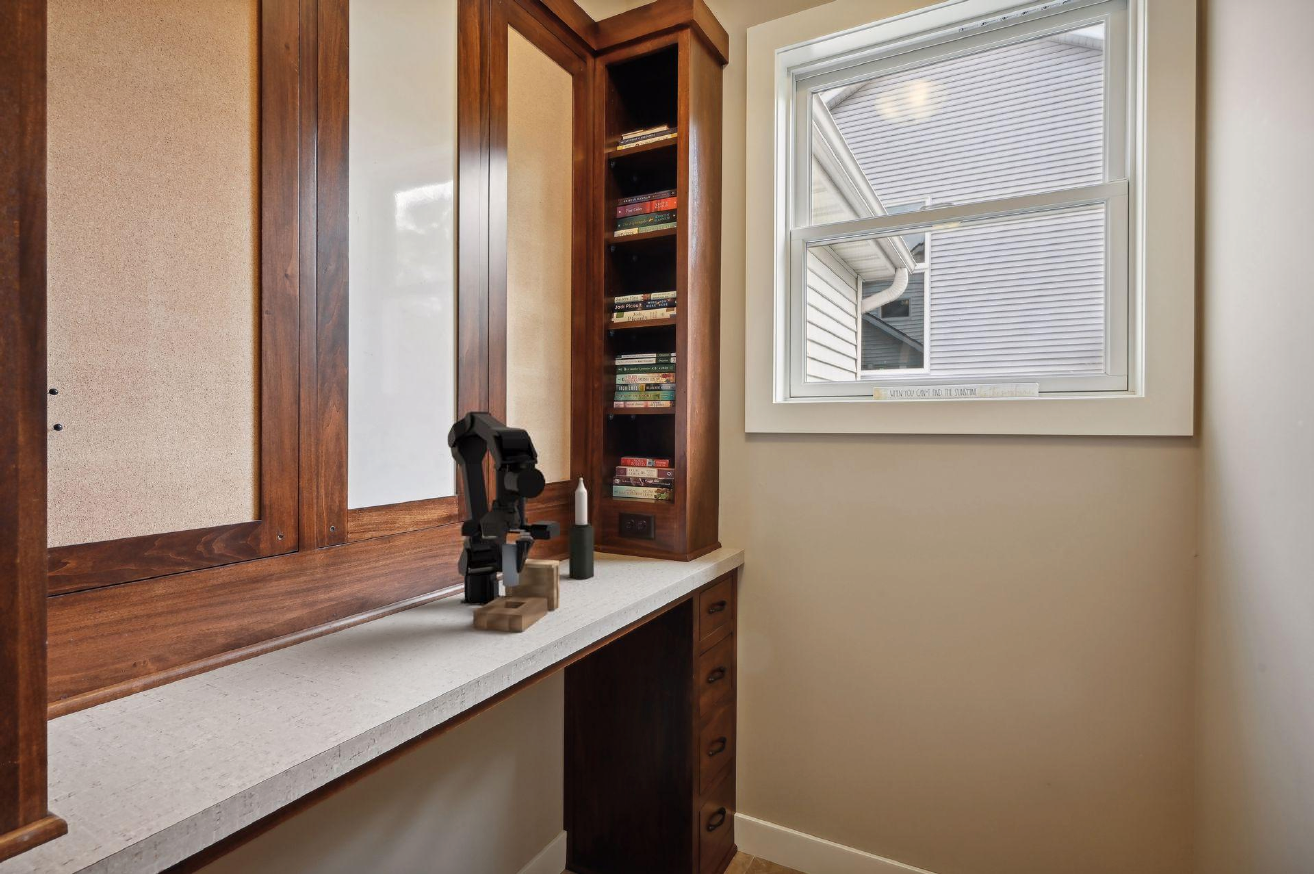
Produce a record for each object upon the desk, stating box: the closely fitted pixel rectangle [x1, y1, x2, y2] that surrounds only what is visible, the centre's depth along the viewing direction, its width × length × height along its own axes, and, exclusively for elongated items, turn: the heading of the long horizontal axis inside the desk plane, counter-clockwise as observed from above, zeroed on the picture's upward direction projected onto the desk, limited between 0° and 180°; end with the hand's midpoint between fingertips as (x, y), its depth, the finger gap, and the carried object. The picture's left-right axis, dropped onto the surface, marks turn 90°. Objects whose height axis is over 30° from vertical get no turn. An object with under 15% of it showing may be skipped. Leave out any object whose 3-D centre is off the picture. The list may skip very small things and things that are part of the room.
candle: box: [568, 477, 595, 581], centre depth 168 cm, size 5×5×25 cm
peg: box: [501, 542, 519, 587], centre depth 131 cm, size 3×3×8 cm
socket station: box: [472, 558, 560, 633], centre depth 134 cm, size 11×18×10 cm, turn 167°
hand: (510, 572), depth 131 cm, fingers closed on peg, 3 cm apart
